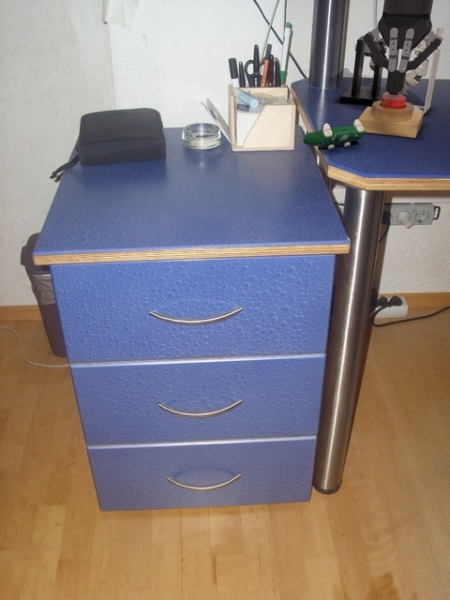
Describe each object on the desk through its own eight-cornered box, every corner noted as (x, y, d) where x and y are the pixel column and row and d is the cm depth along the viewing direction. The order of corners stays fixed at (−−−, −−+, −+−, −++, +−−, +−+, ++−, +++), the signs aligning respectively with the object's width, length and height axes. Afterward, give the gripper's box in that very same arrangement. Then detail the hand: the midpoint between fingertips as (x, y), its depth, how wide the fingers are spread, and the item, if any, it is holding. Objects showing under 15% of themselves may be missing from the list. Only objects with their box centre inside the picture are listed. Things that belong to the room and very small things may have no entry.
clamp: (384, 103, 118) (396, 21, 110) (433, 109, 115) (449, 24, 106) (378, 108, 115) (390, 24, 107) (428, 115, 112) (444, 28, 103)
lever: (368, 72, 129) (371, 57, 128) (383, 73, 128) (386, 58, 127) (360, 54, 116) (363, 37, 115) (376, 55, 115) (380, 38, 114)
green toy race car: (307, 159, 98) (321, 142, 92) (300, 138, 98) (314, 119, 92) (356, 151, 100) (373, 134, 94) (349, 131, 101) (365, 112, 95)
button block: (421, 124, 107) (425, 102, 105) (415, 138, 101) (419, 114, 98) (366, 118, 110) (368, 96, 108) (356, 131, 104) (359, 108, 102)
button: (406, 105, 104) (407, 95, 103) (402, 111, 101) (404, 101, 100) (383, 103, 105) (384, 93, 105) (379, 109, 102) (380, 99, 101)
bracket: (350, 90, 127) (357, 33, 121) (388, 93, 124) (397, 35, 118) (340, 102, 119) (346, 41, 113) (380, 106, 117) (388, 44, 110)
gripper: (364, -20, 92) (351, 95, 101) (454, -16, 87) (431, 103, 97) (373, -24, 97) (360, 85, 107) (458, -21, 93) (436, 92, 103)
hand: (394, 93), depth 102 cm, fingers closed
